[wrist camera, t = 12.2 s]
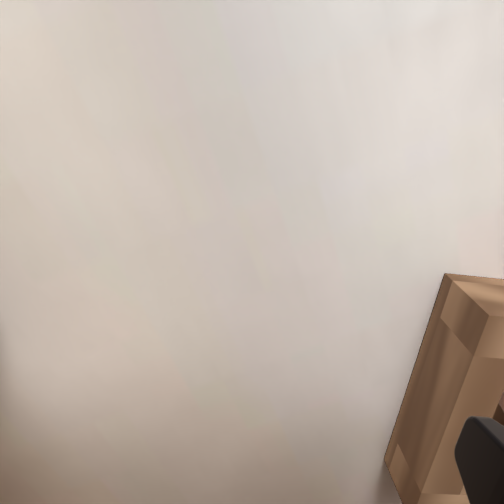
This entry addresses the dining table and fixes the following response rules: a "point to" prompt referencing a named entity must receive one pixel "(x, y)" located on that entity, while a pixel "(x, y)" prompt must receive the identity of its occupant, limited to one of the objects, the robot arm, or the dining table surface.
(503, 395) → the smoothie
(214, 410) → the dining table surface
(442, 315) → the caddy
